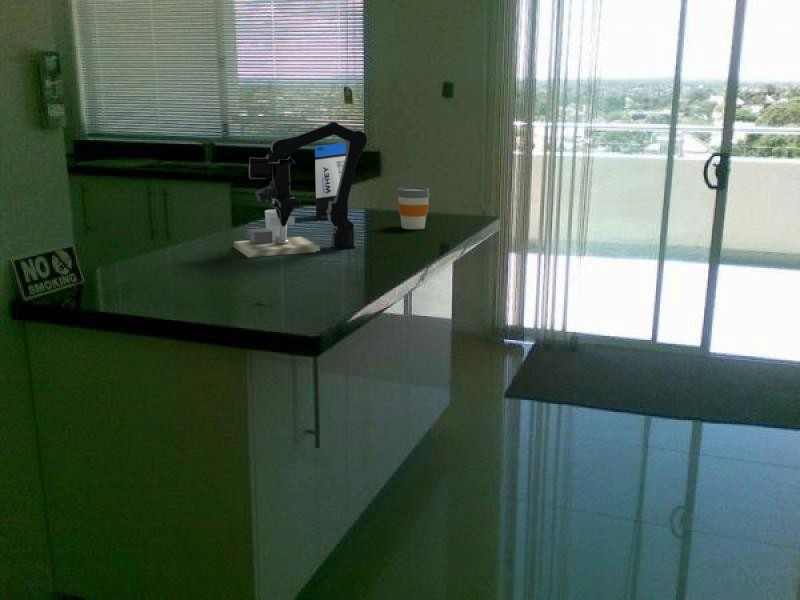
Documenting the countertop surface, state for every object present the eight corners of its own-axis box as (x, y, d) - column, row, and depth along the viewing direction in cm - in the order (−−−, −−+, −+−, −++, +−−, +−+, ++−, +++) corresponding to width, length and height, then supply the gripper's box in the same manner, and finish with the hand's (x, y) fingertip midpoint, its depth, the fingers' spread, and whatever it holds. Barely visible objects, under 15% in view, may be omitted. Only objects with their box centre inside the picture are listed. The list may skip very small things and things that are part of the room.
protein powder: (356, 214, 342) (356, 143, 334) (326, 221, 321) (325, 146, 313) (337, 212, 346) (337, 142, 339) (306, 220, 325) (305, 145, 318)
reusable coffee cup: (435, 226, 313) (435, 188, 309) (418, 231, 302) (419, 191, 299) (407, 223, 319) (408, 186, 315) (390, 227, 309) (391, 189, 305)
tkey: (288, 238, 273) (287, 213, 270) (296, 242, 265) (295, 217, 263) (265, 240, 269) (264, 215, 267) (273, 244, 262) (272, 219, 259)
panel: (302, 242, 278) (301, 236, 278) (319, 251, 263) (319, 245, 262) (234, 247, 268) (233, 241, 268) (248, 257, 253) (248, 251, 252)
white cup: (261, 239, 282) (260, 211, 280) (273, 236, 290) (272, 208, 287) (280, 241, 280) (280, 213, 277) (292, 237, 287) (291, 210, 284)
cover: (267, 240, 271) (267, 228, 270) (272, 243, 265) (272, 231, 264) (250, 241, 268) (249, 229, 267) (254, 244, 263) (254, 232, 262)
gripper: (249, 176, 264) (251, 223, 268) (265, 182, 248) (267, 231, 252) (281, 175, 269) (282, 221, 273) (299, 181, 253) (300, 229, 257)
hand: (282, 225), depth 263 cm, fingers closed on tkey, 2 cm apart
